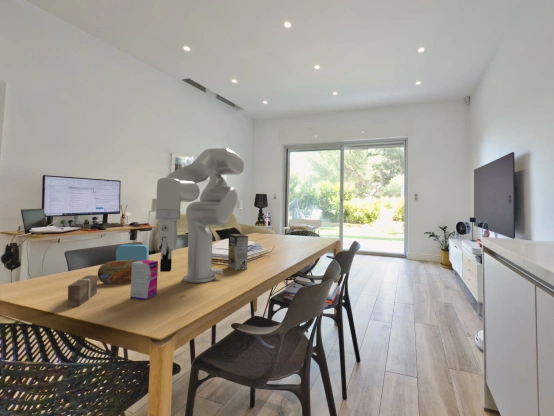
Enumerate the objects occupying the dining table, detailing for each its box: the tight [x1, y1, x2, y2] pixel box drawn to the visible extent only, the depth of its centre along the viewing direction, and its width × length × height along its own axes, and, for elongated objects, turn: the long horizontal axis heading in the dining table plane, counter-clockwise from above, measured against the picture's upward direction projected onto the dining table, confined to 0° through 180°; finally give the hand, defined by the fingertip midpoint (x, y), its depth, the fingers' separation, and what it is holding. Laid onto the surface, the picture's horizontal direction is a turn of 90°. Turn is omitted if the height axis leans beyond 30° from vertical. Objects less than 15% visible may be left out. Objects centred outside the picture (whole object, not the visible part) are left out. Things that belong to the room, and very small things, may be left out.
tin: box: [97, 260, 137, 285], centre depth 104 cm, size 15×3×8 cm, turn 117°
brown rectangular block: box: [67, 274, 98, 308], centre depth 85 cm, size 3×12×6 cm, turn 13°
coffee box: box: [227, 233, 249, 271], centre depth 132 cm, size 9×6×16 cm
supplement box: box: [129, 260, 159, 301], centre depth 88 cm, size 6×6×12 cm
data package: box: [115, 243, 150, 261], centre depth 119 cm, size 12×4×12 cm, turn 105°
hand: (165, 271), depth 89 cm, fingers closed
